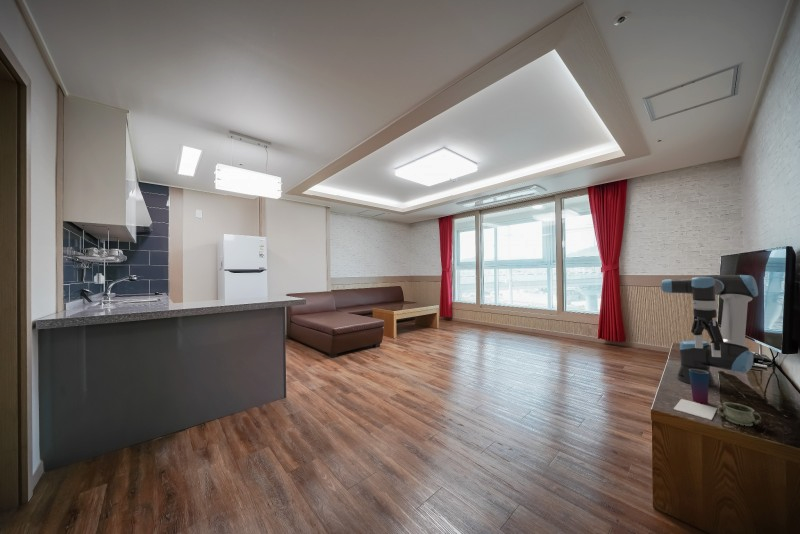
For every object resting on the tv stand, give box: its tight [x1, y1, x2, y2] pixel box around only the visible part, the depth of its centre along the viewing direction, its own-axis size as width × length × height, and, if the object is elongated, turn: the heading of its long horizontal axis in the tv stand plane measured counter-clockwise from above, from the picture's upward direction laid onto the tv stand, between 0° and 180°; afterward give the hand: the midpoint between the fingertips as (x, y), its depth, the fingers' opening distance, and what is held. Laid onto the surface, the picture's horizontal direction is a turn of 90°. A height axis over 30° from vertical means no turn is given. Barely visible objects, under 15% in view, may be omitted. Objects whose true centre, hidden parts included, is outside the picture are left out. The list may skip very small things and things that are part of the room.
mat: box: [673, 398, 718, 421], centre depth 130 cm, size 16×12×1 cm
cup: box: [689, 369, 710, 405], centre depth 137 cm, size 7×7×15 cm
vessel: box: [717, 401, 762, 427], centre depth 119 cm, size 12×9×6 cm
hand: (707, 352), depth 134 cm, fingers open, 13 cm apart
